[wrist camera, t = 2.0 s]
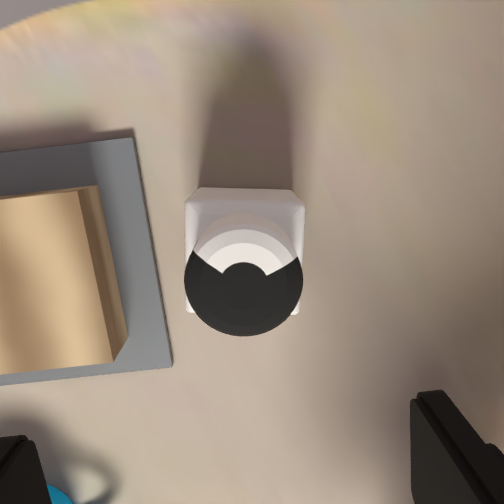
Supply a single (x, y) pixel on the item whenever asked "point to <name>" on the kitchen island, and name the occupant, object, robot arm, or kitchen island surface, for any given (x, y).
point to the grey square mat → (120, 237)
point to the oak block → (57, 282)
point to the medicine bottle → (243, 257)
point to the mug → (58, 496)
